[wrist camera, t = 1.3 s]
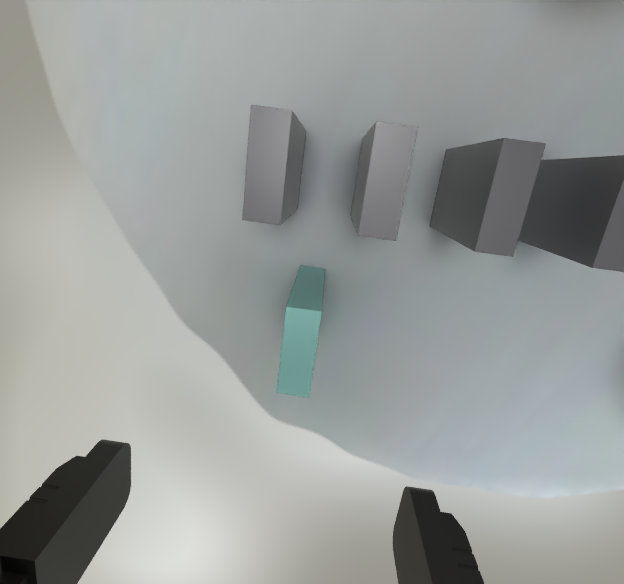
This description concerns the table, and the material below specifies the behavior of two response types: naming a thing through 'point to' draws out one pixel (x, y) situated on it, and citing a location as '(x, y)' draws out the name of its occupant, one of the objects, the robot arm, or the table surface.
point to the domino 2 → (301, 332)
